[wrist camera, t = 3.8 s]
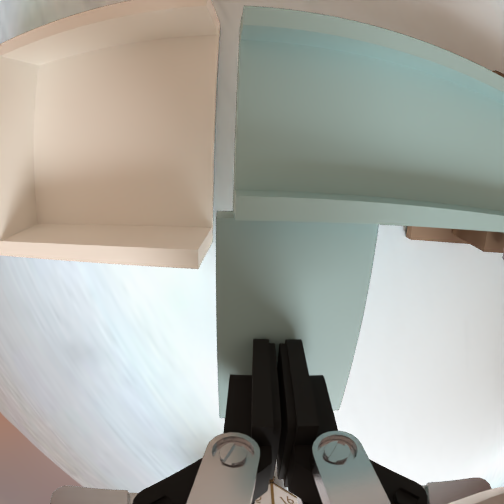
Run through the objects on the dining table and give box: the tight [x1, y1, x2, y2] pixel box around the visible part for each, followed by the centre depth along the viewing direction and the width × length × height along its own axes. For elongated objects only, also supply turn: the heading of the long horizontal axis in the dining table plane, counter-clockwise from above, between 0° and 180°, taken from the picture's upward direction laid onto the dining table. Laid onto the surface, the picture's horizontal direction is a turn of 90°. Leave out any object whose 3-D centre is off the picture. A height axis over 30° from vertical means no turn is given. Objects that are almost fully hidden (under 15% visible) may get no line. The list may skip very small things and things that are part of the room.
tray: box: [0, 0, 220, 269], centre depth 13 cm, size 12×12×4 cm
